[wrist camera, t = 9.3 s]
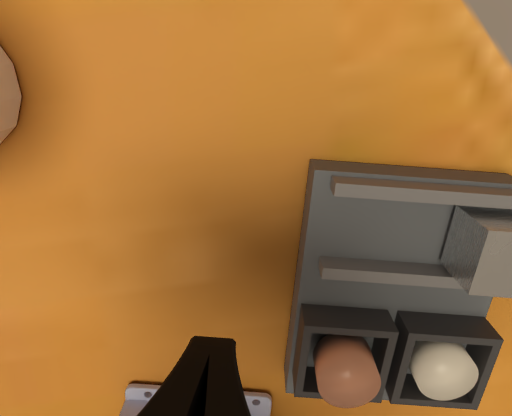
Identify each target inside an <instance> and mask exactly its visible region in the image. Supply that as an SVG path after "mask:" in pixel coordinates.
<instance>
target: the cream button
mask: <svg viewBox="0 0 512 416" xmlns="http://www.w3.org/2000/svg"><path fill="white" fill-rule="evenodd" d="M408 367H409V369H410V371H411V373H412V375H413V377H414V380H415V382H416V384H417V386H418V388H419V390H420V391H421V393H422V394H424V395H425V396H426V397H428V398H431V399H434V400H440V401H445V400H452V399H456V398H459V397H461V396H463V395H465V394H466V393H468V392H469V391H470V390H471V389H472V388H473V387H474V386H475V384H476V382H477V380H478V375H479V373H478V368H477V366H476V364H475V363H474V361H473V360H472V359H471V357H470V356H469V354H468V353H467V351H466V350H465V348H464V347H463V345H462V344H458V343H445V342H431V341H417V340H416V341H415V345H414V348H413V352H412V356H411V359H410V363H409V366H408Z"/></svg>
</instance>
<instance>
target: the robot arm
mask: <svg viewBox="0 0 512 416" xmlns="http://www.w3.org/2000/svg"><path fill="white" fill-rule="evenodd" d="M148 392H150V393H148ZM125 398H126V400H125V402H124V405H123V407H122V410H121V412H120V415H119V416H270V413H271V404H272V399H271V396H270V395H269V394H267V393H260V392H246V391H243V388H242V384H241V380H240V376H239V371H238V366H237V359H236V342H235V341H234V340H233V339H230V338H216V337H202V336H194V337H193V338H191V340H190V342H189V344H188V346H187V348H186V349H185V351H184V353H183V354H182V356H181V358H180V359H179V361H178V362H177V364H176V365H175V367H174V368H173V370H172V371H171V372H170V374H169V375H168V377H167V378H166V379H165V381H164V382H163V384H162V385H148V384H129V385H128V386H127V388H126V390H125ZM256 399H257V400H256Z"/></svg>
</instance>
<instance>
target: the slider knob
mask: <svg viewBox="0 0 512 416" xmlns="http://www.w3.org/2000/svg"><path fill="white" fill-rule="evenodd" d="M440 262H441V264H442V265H443V266H444V267H445V268H446V269H447V271H448V272H449V273H450V274H451V275H452V276H453V278H454V279H455V280H456V281H457V282H458V283H459V285H460V286H461V287H462V288H463V289H464V290H465V292H466V293H467V294H468V295H477V296H491V297H504V298H512V209H500V208H487V207H473V206H460V205H456V207H455V211H454V214H453V218H452V221H451V225H450V229H449V232H448V236H447V239H446V243H445V246H444V250H443V254H442V257H441V261H440Z"/></svg>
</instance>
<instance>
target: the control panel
mask: <svg viewBox="0 0 512 416" xmlns="http://www.w3.org/2000/svg"><path fill="white" fill-rule="evenodd" d="M456 205H460V206H473V207H487V208H500V209H512V176H510V175H508V174H506V173H492V172H478V171H465V170H451V169H438V168H424V167H411V166H397V165H384V164H370V163H356V162H343V161H329V160H316V159H310V163H309V171H308V180H307V188H306V196H305V204H304V212H303V220H302V228H301V236H300V244H299V252H298V260H297V268H296V276H295V284H294V292H293V300H292V309H291V317H290V325H289V333H288V341H287V349H286V357H285V365H284V372H285V389H286V393H294V397H306V398H320V399H323V398H322V397H321V395H320V393H319V391H318V386H317V380H316V373H315V367H314V361H313V351H314V348H315V346H316V344H317V343H318V342H319V341H320V340H321V339H322V338H323V337H325V336H327V335H329V334H334V335H347V336H361V337H363V338H364V339H365V340H366V342H367V343H368V345H369V347H370V350H371V353H372V356H373V358H374V361H375V364H376V367H377V369H378V372H379V375H380V378H381V387H380V390H379V392H378V394H377V395H376V396H375V397H374V398H373V399H372V400H371V401H370V402H375V403H381V401H382V400H389V401H390V404H403V405H417V406H431V407H445V408H459V409H473V410H477V409H478V406H479V404H480V401H481V398H482V396H483V393H484V390H485V388H486V385H487V383H488V380H489V377H490V375H491V372H492V369H493V367H494V364H495V362H496V359H497V356H498V354H499V351H500V348H501V346H502V343H503V341H504V340H503V339H502V337H501V336H500V335H499V334H498V333H497V331H496V330H495V329H494V328H493V327H492V326H491V324H490V323H489V322H488V321H487V320H486V315H487V312H488V309H489V307H490V304H491V301H492V298H493V297H491V296H477V295H468V294H467V293H466V292H465V290H464V289H463V288H462V287H461V286H460V285H459V283H458V282H457V281H456V280H455V279H454V278H453V276H452V275H451V274H450V273H449V272H448V271H447V269H446V268H445V267H444V266H443V265H442V264H441V262H440V261H441V257H442V254H443V250H444V246H445V243H446V239H447V236H448V232H449V229H450V225H451V221H452V218H453V214H454V211H455V207H456ZM416 340H417V341H431V342H445V343H458V344H462V345H463V347H464V348H465V350H466V351H467V353H468V354H469V356H470V357H471V359H472V360H473V361H474V363H475V364H476V366H477V368H478V373H479V375H478V380H477V382H476V384H475V386H474V387H473V388H472V389H471V390H470V391H469V392H468V393H466V394H465V395H463V396H461V397H459V398H456V399H452V400H445V401H440V400H434V399H431V398H428V397H426V396H425V395H424V394H422V393H421V391H420V390H419V388H418V386H417V384H416V382H415V380H414V377H413V375H412V373H411V371H410V369H409V367H408V366H409V363H410V359H411V356H412V352H413V348H414V345H415V341H416Z"/></svg>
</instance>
